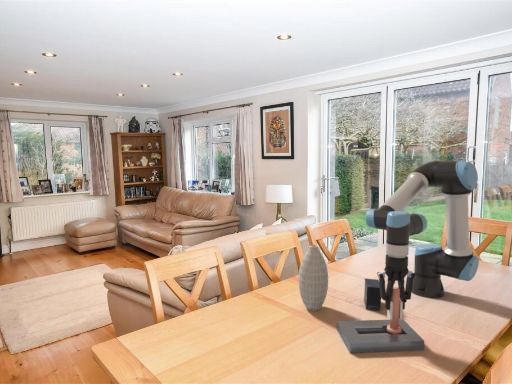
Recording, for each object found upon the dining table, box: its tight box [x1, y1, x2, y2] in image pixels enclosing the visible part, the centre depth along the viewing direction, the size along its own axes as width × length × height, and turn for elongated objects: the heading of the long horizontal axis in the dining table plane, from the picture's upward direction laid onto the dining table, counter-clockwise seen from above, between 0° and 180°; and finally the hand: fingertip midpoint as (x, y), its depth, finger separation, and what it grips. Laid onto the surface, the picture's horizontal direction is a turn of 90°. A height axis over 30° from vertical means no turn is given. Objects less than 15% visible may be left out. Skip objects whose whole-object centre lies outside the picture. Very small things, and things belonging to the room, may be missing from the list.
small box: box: [363, 278, 382, 311], centre depth 158 cm, size 11×6×10 cm, turn 168°
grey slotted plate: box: [336, 318, 425, 354], centre depth 129 cm, size 26×16×4 cm, turn 93°
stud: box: [387, 286, 402, 335], centre depth 128 cm, size 5×5×16 cm
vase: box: [298, 244, 329, 312], centre depth 155 cm, size 13×13×28 cm
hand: (394, 317), depth 129 cm, fingers closed on stud, 3 cm apart
